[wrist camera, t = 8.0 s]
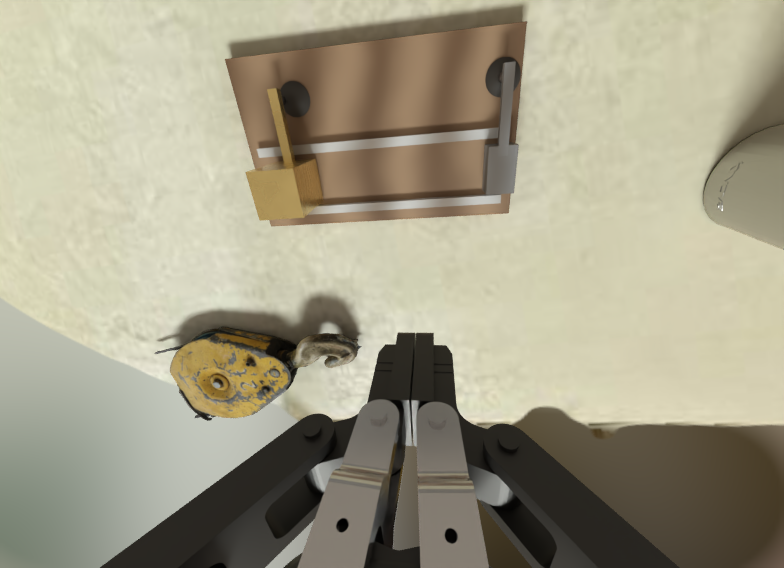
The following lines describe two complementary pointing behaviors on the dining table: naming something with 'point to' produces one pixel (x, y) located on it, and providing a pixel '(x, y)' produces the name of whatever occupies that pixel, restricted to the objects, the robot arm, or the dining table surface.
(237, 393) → the pulley block
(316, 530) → the robot arm
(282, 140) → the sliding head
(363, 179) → the gauge board
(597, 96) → the dining table surface
